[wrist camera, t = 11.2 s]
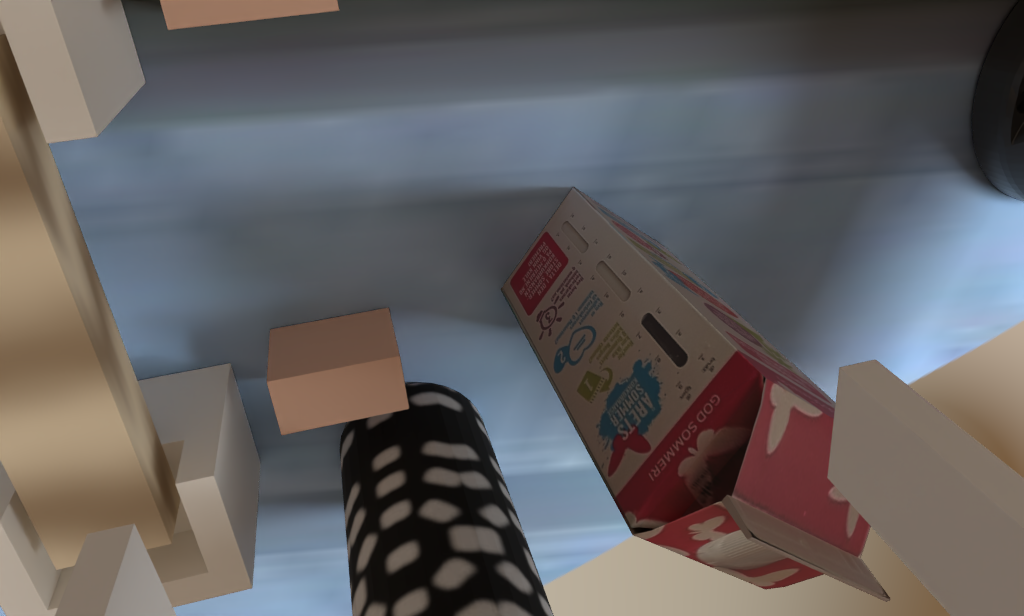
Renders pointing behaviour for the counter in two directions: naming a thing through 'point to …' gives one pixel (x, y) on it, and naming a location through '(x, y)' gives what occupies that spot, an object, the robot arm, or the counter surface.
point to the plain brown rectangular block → (324, 343)
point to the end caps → (170, 399)
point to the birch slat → (66, 361)
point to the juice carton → (685, 406)
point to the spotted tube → (433, 515)
